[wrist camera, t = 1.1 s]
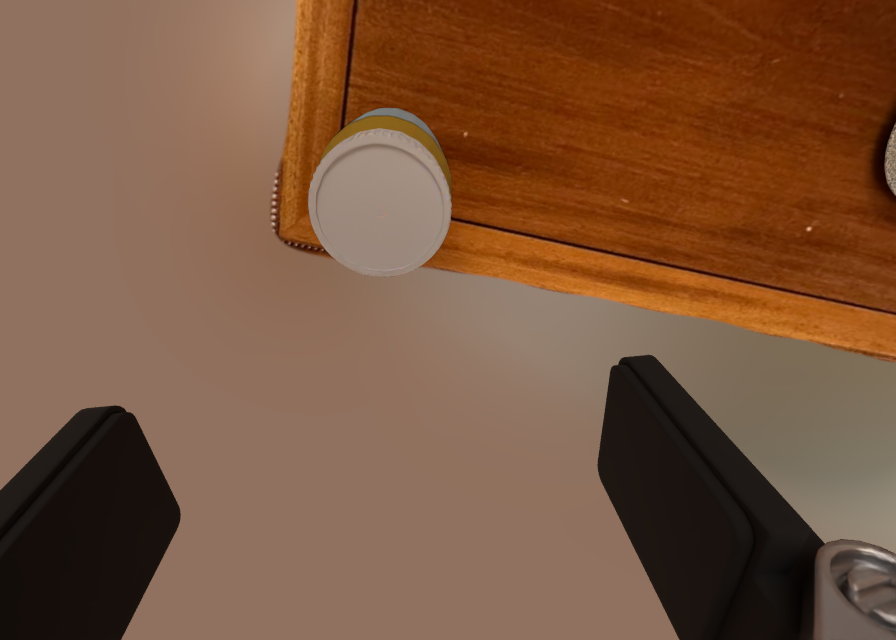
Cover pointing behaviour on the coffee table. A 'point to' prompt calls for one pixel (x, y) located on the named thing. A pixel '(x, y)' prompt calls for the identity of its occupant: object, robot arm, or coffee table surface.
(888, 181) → the pastry
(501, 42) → the coffee table surface
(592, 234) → the coffee table surface
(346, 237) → the bottle
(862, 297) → the coffee table surface
